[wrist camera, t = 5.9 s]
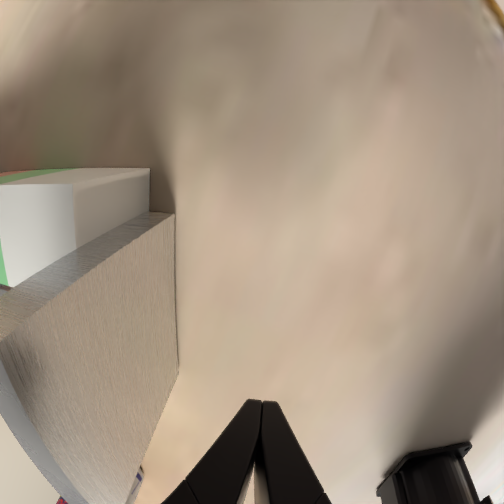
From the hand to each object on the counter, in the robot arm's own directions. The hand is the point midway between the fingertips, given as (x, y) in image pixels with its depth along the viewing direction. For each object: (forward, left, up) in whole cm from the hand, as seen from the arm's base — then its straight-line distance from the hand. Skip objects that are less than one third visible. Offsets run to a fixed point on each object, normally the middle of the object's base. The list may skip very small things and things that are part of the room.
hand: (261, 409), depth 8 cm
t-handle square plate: (+9, 0, -5) cm, 10 cm away
